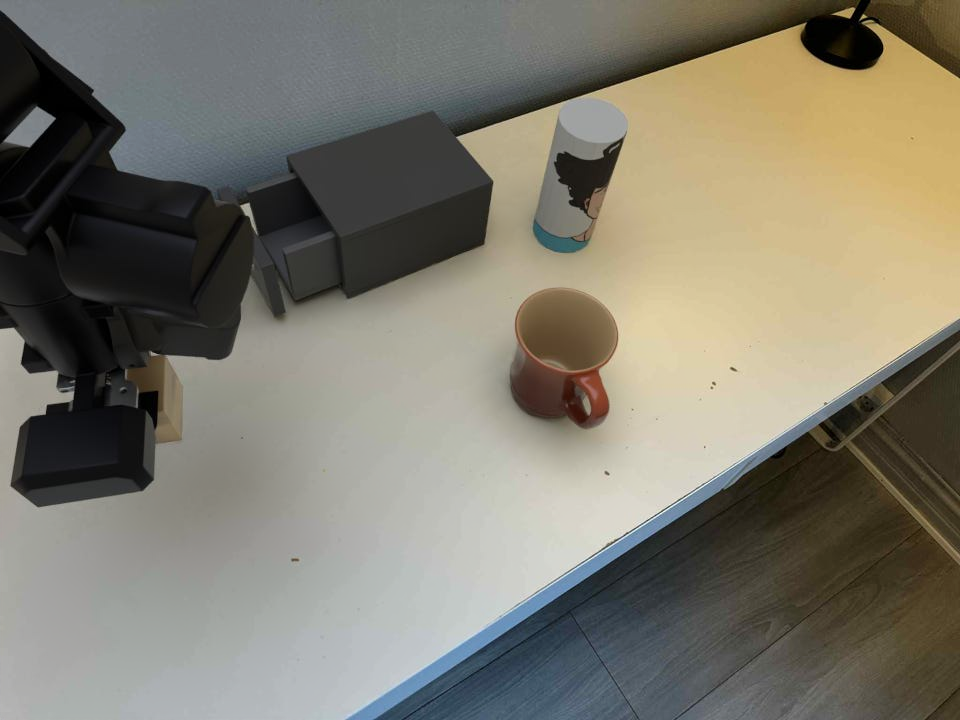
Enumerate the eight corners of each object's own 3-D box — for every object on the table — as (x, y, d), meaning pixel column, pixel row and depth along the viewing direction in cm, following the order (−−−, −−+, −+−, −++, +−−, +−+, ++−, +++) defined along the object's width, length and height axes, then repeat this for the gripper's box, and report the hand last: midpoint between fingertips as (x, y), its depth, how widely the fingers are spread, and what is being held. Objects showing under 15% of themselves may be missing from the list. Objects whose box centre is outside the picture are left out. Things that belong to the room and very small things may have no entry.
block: (114, 450, 45) (88, 420, 41) (118, 395, 47) (94, 362, 44) (182, 440, 46) (163, 410, 42) (183, 386, 48) (165, 353, 44)
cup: (584, 259, 73) (621, 150, 61) (526, 242, 74) (551, 131, 61) (596, 218, 77) (633, 108, 64) (540, 203, 78) (566, 90, 65)
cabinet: (347, 299, 67) (340, 237, 60) (298, 221, 72) (285, 155, 65) (484, 244, 73) (494, 181, 66) (430, 175, 78) (433, 110, 71)
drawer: (225, 337, 62) (205, 288, 56) (185, 258, 67) (163, 206, 61) (415, 261, 70) (416, 211, 64) (367, 195, 74) (364, 142, 68)
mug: (486, 365, 65) (498, 300, 56) (566, 342, 67) (589, 277, 58) (536, 473, 59) (559, 420, 50) (621, 444, 61) (656, 388, 53)
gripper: (214, 401, 29) (272, 519, 42) (212, 127, 39) (260, 292, 52) (-70, 439, 27) (83, 551, 40) (1, 139, 37) (106, 308, 50)
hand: (144, 410), depth 46 cm, fingers closed on block, 4 cm apart
